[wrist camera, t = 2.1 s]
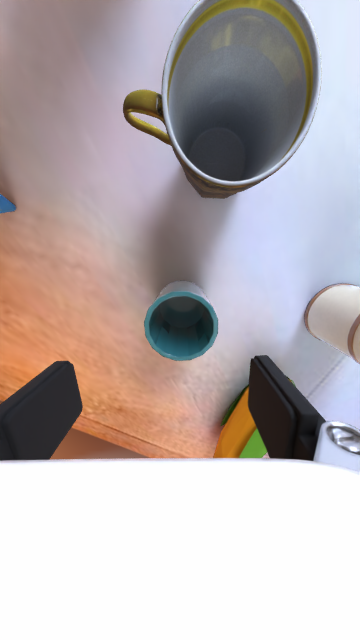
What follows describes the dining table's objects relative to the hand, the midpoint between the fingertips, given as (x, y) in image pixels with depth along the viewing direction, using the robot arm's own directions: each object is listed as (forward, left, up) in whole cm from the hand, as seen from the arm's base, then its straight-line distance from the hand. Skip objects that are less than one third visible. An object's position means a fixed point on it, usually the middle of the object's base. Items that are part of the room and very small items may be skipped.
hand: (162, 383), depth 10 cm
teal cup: (0, +1, -17) cm, 17 cm away
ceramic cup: (-16, +4, -18) cm, 24 cm away
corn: (+19, +10, -18) cm, 28 cm away
